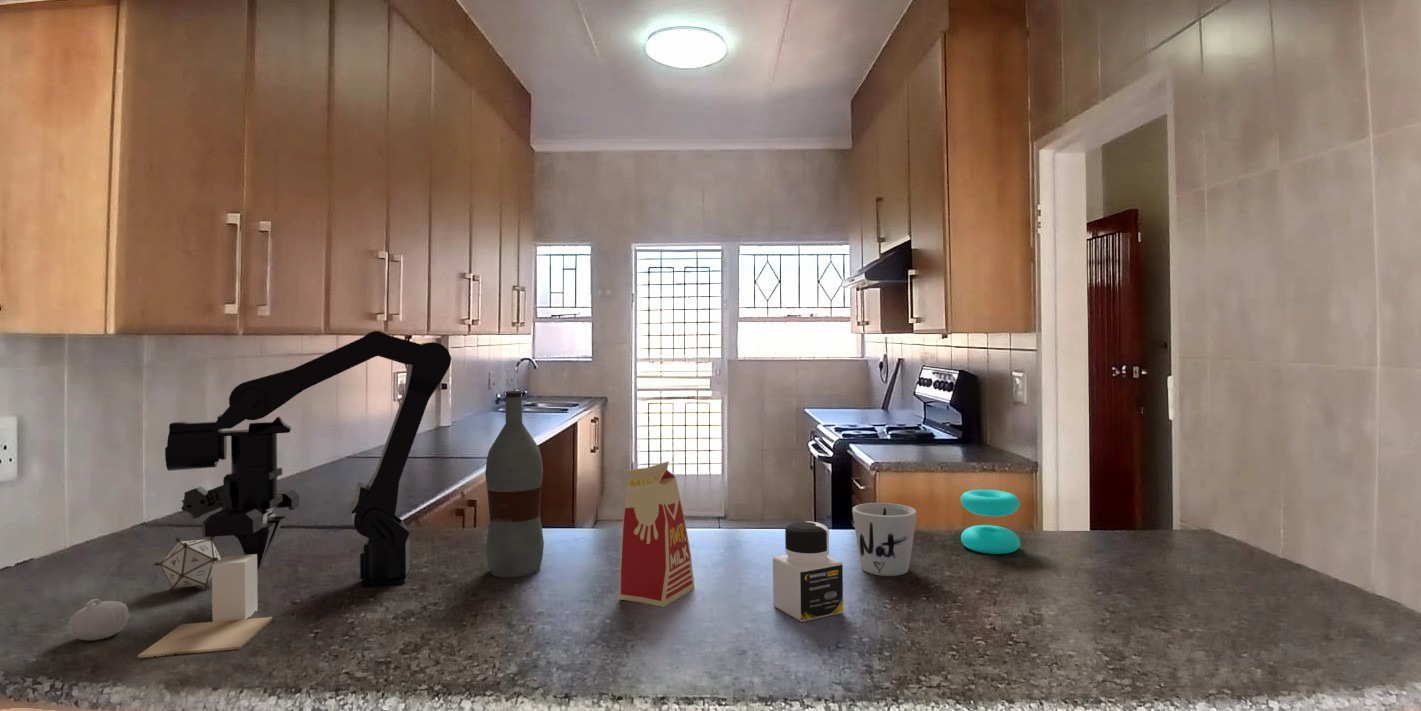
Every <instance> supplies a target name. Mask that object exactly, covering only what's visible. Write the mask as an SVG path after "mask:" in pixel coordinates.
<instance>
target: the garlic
mask: <svg viewBox="0 0 1421 711" xmlns="http://www.w3.org/2000/svg"><path fill="white" fill-rule="evenodd" d="M84 605H85V606H84V607H82V608H81V609H80V610H78V611H77V612H75V613H74V614H72V616H71V617H70V618H69V619H68V623H67V629H68V631H69V634H70V635H71V636H72V637H73V638H74V639H77V640H81V641H100V640H104V638H105V639H108V638H110V637H112V636H114V635H116V634H117V633H119V632H121V630H123V629H124V628H125V626H126V625H127V624H128V621H129V616H130V615H129V608H128V606H127V604H125V603H124V602H120V601H116V600H105V601H102V600H100V599H99V598H93V599H91V600H88V601H87V602H86V603H85V604H84ZM99 639H100V640H99Z"/></svg>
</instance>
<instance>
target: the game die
mask: <svg viewBox="0 0 1421 711" xmlns="http://www.w3.org/2000/svg"><path fill="white" fill-rule="evenodd" d="M215 538H216V536H214V537H209V538H202V539H190V540H189V539H188V540H181V539H180V537H177V536H176V537H175V542H177V543H175V545H174V546H173V547H172V548H171V550H170V551H169V552H168V554H166V556H165V557H164V558H163V559H162V561H161V562H159V561H158V562H157V561H156V562H155V563H153V564H152V565H154V566H155V567H159V566H160V568H161V569H162V571H163V573H164V576H165V578H166V579H167V581H168V583H169V584H170V586H171V587H170V588H169V590H168V593H169V594H171V593H173V591H174V590H175V589H181V588H191V587H199V586H200V587H201V586H204V589H206V590H210V584H208V583H209V582H210V580H212V564H213V563H215V562H217V561H218V560H220V559H222V558H223V557H221V554H220V553H219V551H218V548H217V546H216V544H215V542H214V541H213V540H214V539H215Z"/></svg>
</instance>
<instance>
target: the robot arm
mask: <svg viewBox="0 0 1421 711" xmlns="http://www.w3.org/2000/svg"><path fill="white" fill-rule="evenodd" d="M375 357H379V358H383V359H386V360H389V361H390V360H391V361H393V362H397V363H400V364H402V365H406V366H407V367H406V372H405V373H406V374H405V384H404V392H403V395H402V398H401V400H400V404H399V406H398V409H397V411H396V414H395V417H394V420H393V423H392V425H391V428H390V430H389V433H388V436H387V439H386V441H385V444H384V447H383V449H382V451H381V455H380V457H379V460H378V463H377V465H376V469H375V471H374V473H373V475H372V477H371V478H370V479H369V481H368V482H367V484H366V483H363V482H361V481H358V482H357V486H356V487H357V488H356V491H355V496H354V498H353V500H352V501H351V502H350V503H349V504H348V505H349V509H350V513H351V517H352V521H353V525H354V528H355V530H356V532H357V533H358V534H360V535H361V536H363V537H366V538H368V540H366V542H365V543H364V544H363V551H362V552H361V553H360V554H359V579H360V580H362V581H361V582H360V587H368V586H385V585H394V584H397V585H398V584H404V583H406V581H407V580H408V579H409V577H410V575H411V574H412V572H413V568H410V564H411V563H410V537H409V535H410V531H409V529H408V528H407V526H406V524H405V522H404V521H403V520H402V519H401V518H400V517H399V516H397V515H396V511H397V506H398V498H399V488H400V480H401V478H402V475H403V472H404V469H405V466H406V464H407V461H408V458H409V455H410V453H411V450H412V447H413V444H414V442H415V439H416V436H417V433H418V432H419V431H418V430H419V427H420V425H421V422H422V419H423V416H424V414H425V411H426V408H427V406H428V403H429V400H430V399H431V397H432V396H433V394H434V392H435V391H436V390H437V389H438V387H439V385H441V382H442V381H443V379H444V377H445V375H446V374H447V372H448V371H449V369H450V366H451V363H452V362H451V361H452V356H451V354H450V352H449V350H448V348H447V347H446V346H444V345H443V344H441V343H439V342H435V341H434V342H433V341H431V342H423V343H417V342H415V341H410V340H408V339H403V338H399V337H396V336H392V335H389V334H386V333H385V332H383V331H380V330H373V331H370V332H368V333H366V334H365V335H364V336H363V337H360V338H357V339H356V340H354V341H352V342H350V343H348V344H347V343H346V344H344V345H343V346H341V347H338V348H336V349H334V350H331V351H330V352H327V353H325V354H323V355H320V356H318V357H316V358H314V359H312V360H311V359H310V360H309V361H307V362H305V363H302V364H301V365H298V366H296V367H294V368H291V369H287V370H284V371H280V372H276V373H273V374H269V375H265V376H262V377H258V378H254V379H251V380H247V381H243V382H241V383H240V384H238V385H237V386H235V387H234V388H233V389H232V391H231V392H230V395H229V397H228V407H227V408H226V410H225V411H224V412H223V413H222V414H220V415H218V416H217V419H216V421H205V422H203V421H202V422H201V421H200V422H187V421H186V422H185V421H174V422H171V423H169V425H168V428H169V429H168V430H169V432H168V436H167V443H166V444H167V445H166V447H165V448H164V450H165V451H164V452H165V453H164V454H165V456H164V457H165V458H164V459H165V466H166V469H167V471H169V472H171V471H182V470H183V471H184V470H185V471H186V470H197V469H198V470H199V469H209V468H212V469H213V468H217V466H218V463H219V462H220V460H221V461H224V460H227V454H228V453H227V451H228V449H227V448H228V442H227V437H230V448H231V449H230V451H231V452H230V457H231V459H230V460H231V461H230V462H231V472H230V473H227V474H225V476H224V477H223V484H221V485H218V486H216V487H214V488H211V489H209V490H207V489H205V488H204V487H203V486H198V487H195V488H193V489H191V490H188V491H185V492H184V496H183V499H182V500H181V502H182V506H181V511H183V512H186V513H189V514H190V517H191V519H192V520H195V519H198V518H200V517H202V516H203V515H206V514H208V513H211V512H213V511H216V510H218V509H221V510H219V511H217V512H215V513H213V514H211V515H209V516H207V518H205V519H204V520H203V522H202V523H201V524H202V529H201V530H202V537H204V538H211V537H214V536H215V537H226V536H227V537H229V536H231V537H232V536H233V537H235V538H236V539H238V542H239V543H240V547H241V548H242V551H243V553H244V554H243V555H251V554H257V571H258V570H260V569H261V568H262V566H263V564H264V562H265V560H266V558H267V556H268V553H269V551H270V549H271V547H272V545H273V543H274V541H275V539H276V536H277V534H278V533H279V530H280V528H281V527H282V524H283V522H284V521H285V520H286V516H284V515H282V516H276V512H275V511H273V510H274V509H281V508H282V509H283V508H287V509H288V510H289V511H293V510H296V509H297V508H299V507H300V494H299V493H298V492H296V491H295V490H294V489H283V490H282V489H281V490H279V489H278V477H279V476H281V475H283V468H282V467H278V436H277V435H278V434H288V433H290V432H291V431H292V426H291V425H288V424H287V423H286V422H285V421H284V420H283V418H281V416H276V418H275V419H273V421H268V422H264V421H263V422H249V424H248V429H237V430H228V429H232V428H234V427H235V426H238V425H239V424H240V423H242V422H244V421H245V420H247V421H258V420H260V419H264V418H266V417H268V415H270V414H271V413H273V412H274V411H275V410H277V409H278V408H280V407H282V406H283V405H285V404H286V403H288V402H289V401H290V400H292V399H293V398H294V397H297V395H299V394H300V393H302V392H303V391H304V390H307V389H309V388H311V387H313V386H315V385H318V384H319V383H321V382H323V381H326V380H329V379H331V378H333V377H335V376H337V375H339V374H341V373H344V372H345V371H348V370H349V369H352V368H354V367H356V366H358V365H360V364H362V363H365V362H367V361H369V360H371V359H373V358H375ZM226 429H227V430H226ZM215 537H214V538H215Z"/></svg>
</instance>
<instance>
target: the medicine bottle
mask: <svg viewBox="0 0 1421 711" xmlns="http://www.w3.org/2000/svg"><path fill="white" fill-rule="evenodd" d="M784 531H785V532H784V536H785V538H784V539H785V540H784V541H785V542H784V544H785V545H784V546H785V551H784V552H785V554H781V555H776V556H773V557H772V581H773V582H772V589H773V590H772V595H773V597H772V598H773V601H772V602H773V603H772V604H773V607H775V608H777V609H778V610H780V611H781V612H783V613H785V614H786V615H788V616H791V617H792V618H793V619H795V620H797V621H798V622H800V623H804V622H809V621H813V620H816V619H817V620H818V619H822V618H825V617H831V616H835V615H840V614H843V612H844V585H843V582H844V581H843V580H844V579H843V577H844V574H843V573H844V572H843V569H844V567H843V562H842V561H841V560H837V559H835V558H833V557H831V556H829V554H830V529H829V528H828V527H827V526H826V525H825V524H822V523H820V522H817V521H816V522H815V521H810V520H809V521H806V520H805V521H802V520H801V521H795V522H792V523H790V524H788V525H787V526H786V527H785V529H784Z"/></svg>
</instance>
